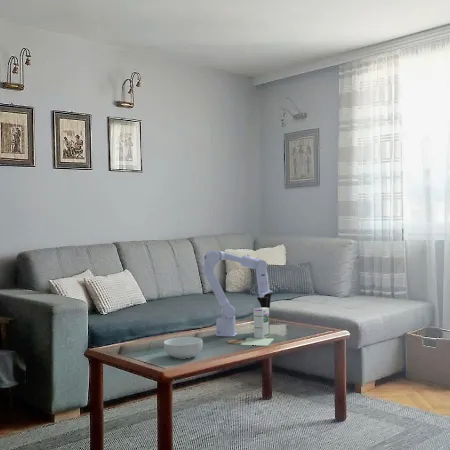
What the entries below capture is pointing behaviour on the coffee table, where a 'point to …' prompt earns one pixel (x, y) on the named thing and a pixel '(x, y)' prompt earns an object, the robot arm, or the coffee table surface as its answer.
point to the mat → (257, 341)
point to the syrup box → (261, 322)
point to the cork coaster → (235, 341)
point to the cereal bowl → (183, 347)
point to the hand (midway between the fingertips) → (266, 309)
